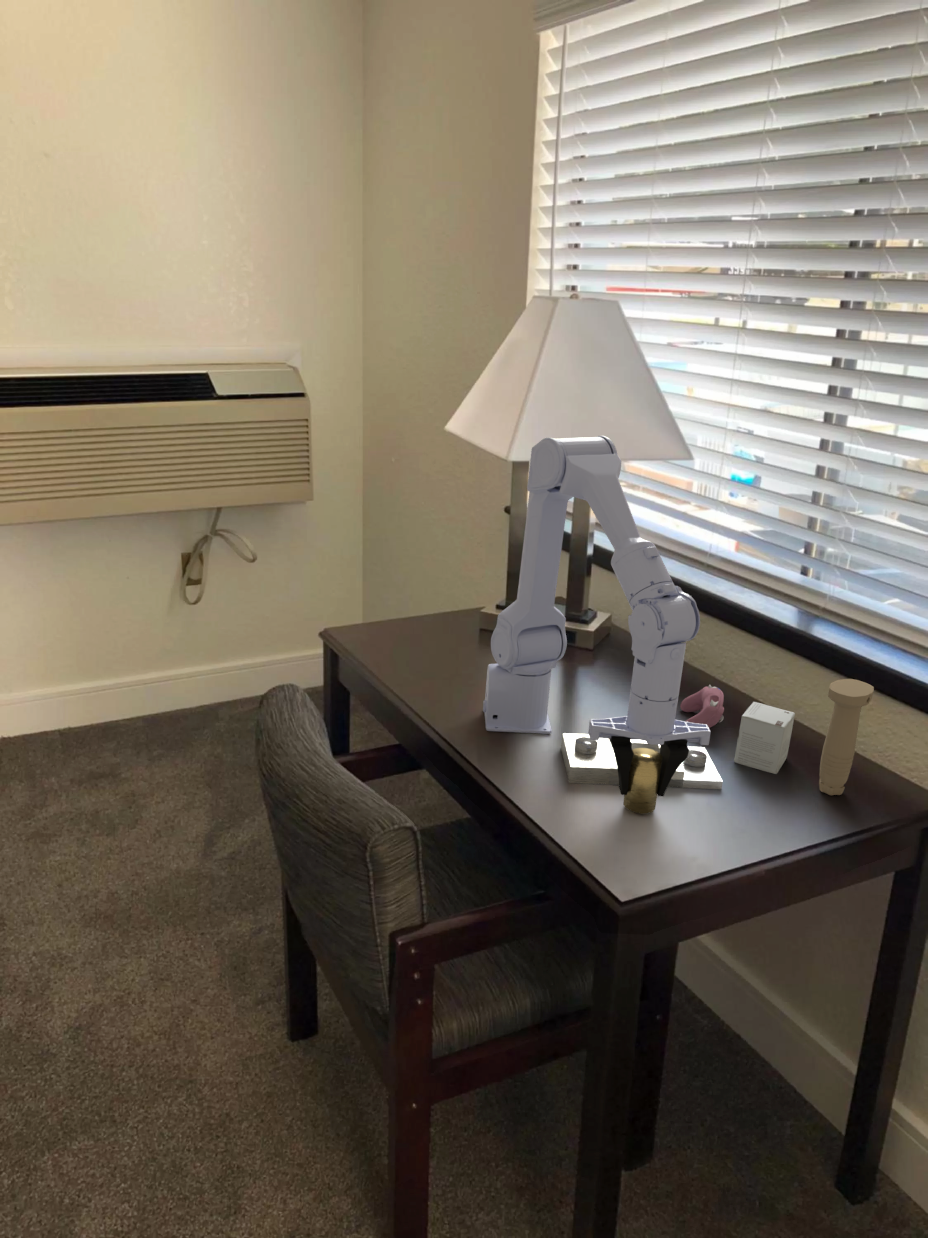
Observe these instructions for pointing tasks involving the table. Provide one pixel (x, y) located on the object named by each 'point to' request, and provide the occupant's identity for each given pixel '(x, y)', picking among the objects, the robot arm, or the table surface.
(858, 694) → the handle
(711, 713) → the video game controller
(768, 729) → the skincare box
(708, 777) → the right chain end
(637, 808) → the brass pin
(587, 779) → the plate
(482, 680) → the table surface
